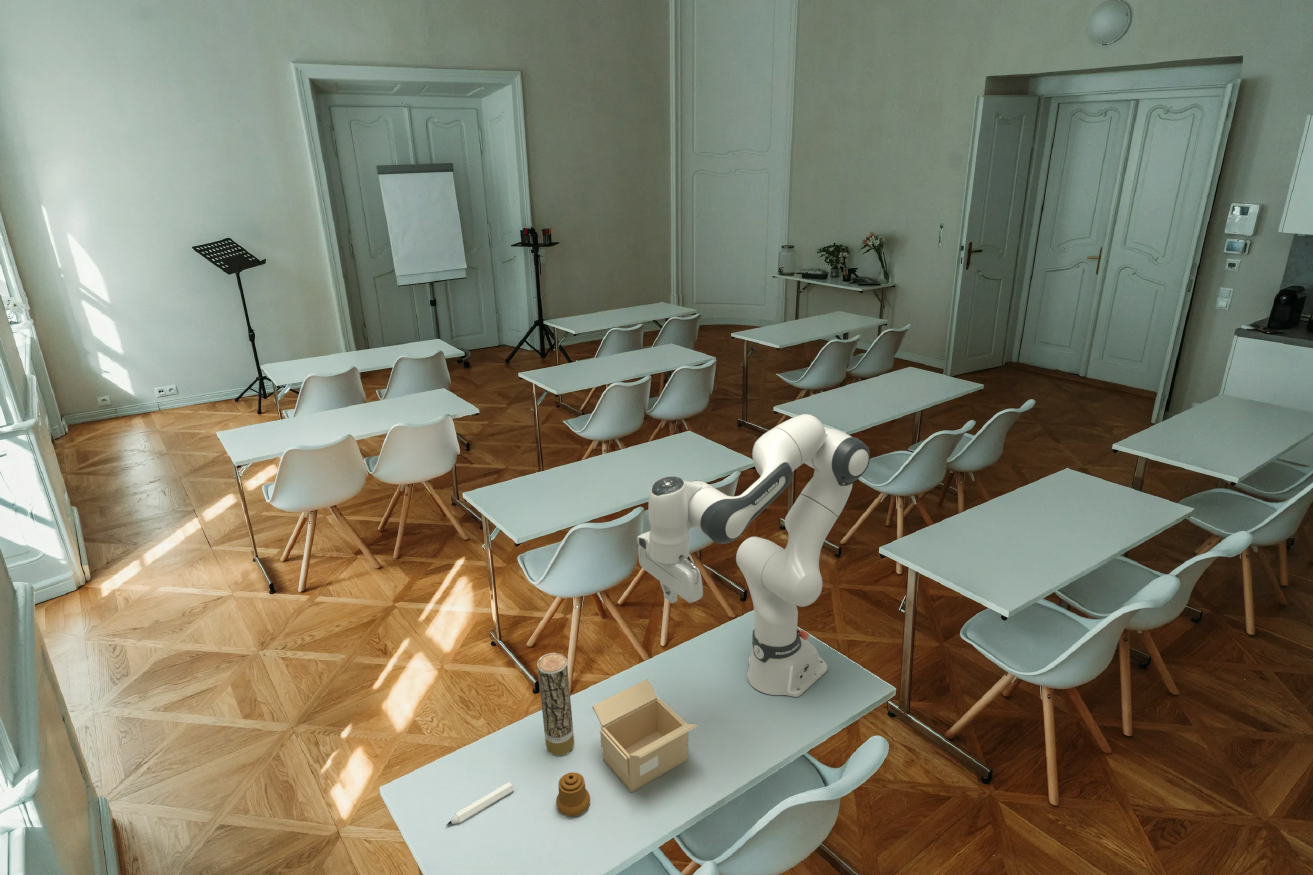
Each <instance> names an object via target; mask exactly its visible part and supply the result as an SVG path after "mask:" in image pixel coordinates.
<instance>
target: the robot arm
mask: <svg viewBox="0 0 1313 875" xmlns="http://www.w3.org/2000/svg"><path fill="white" fill-rule="evenodd" d="M751 455H752V461H753V464H754V467H755V469H756V472H757V474H759V476H760V477H759V478H757V480H756V481H754V482H753V483H752V484H751V485H750V486H749V487H748V488H747V489H746V490H745V491H743V492H742V493H741V494H739V495H736V496H730V495H727V494H726V493H724V492H723V491H720V490H718V489H717V488H715V487H714V486H712V485H710V484H708V483H707V482H705V481H702V480H698V479H697V480H692V481H687V480H684V479H682V478H680V477H679V476H678V477H677V476H665V477H662V478H660V479H658V480H656V481H655V482H654V483H653V484H652V486H651V488H650V491H649V496H648V504H647V505H648V510H647V511H648V522H649V524H650V530H649V531H646V532H644V533H641V534H639V535H638V536H637V538H636V542H637V545H638V546H637V551H638V552H637V553H638V555H637V556H638V563H639V565H640V568H642V569H643V570H644V571H646V572H647V573H649V574H650V575H651V576H652V577H654V578H655V579H656V580H658V581H659V584H660V587H661V589H662V592H663V598H664V599H666V600H667V601H668V602H669V603H671V604H674V603H676V602H678V596H679V597H680V598H682V599H683V600H685V601H686V602H687V603H688V604H692V603H694V602H697V601H699V600H700V599H702V597H703V595H704V589H703V588H704V587H703V579H702V575H701V572H700V569H699V568H698V567H697V566H696V564H695V562H693V561H690V560H689V559H688V558H689V556H690V533H689V532H690V529H691V528H697V529H698V530H699V531H701V532H703V534H705V535H706V536H707V537H708V538H709V539H710V540H712V542H714V543H716V544H718V545H725V544H729V543H732V542H733V541H735V540H737V539H739V538H740V537H741V536H742V535H743V534H744V532H745V531H746V530H747V528H748V527H749V526H750V524H751V523H752V522H753V521H754V520H755V519H756V518H757V517H758V516H759V515H760V514H761V513H762V512H763V511H764V510H765V509H767V508H768V507H769V506H770V504H772V503H773V502H774V501H775V500H776V499H777V498H778V497H779V496H780V495H781V494H782V493H783V492H784V491H785V490H786V488H788V486H789V485H790V483H791V482H792V480H793V475H794V474H793V472H794V471H795V470H797V469H798V468H799V467H801V466H802V465H803V464H805V465H807V466H808V467H810V468H812V469H813V472H814V473H813V476H812V477H811V479H809V481H808V482H807V484H805V487H804V488H803V489H802V491H801V492H800V494H799V496H798V497H797V499H796V500H795V501H794V503H793V505H792V507H791V508H790V509H789V511H788V513H787V514H786V515H785V519H784V526H785V529H786V532H787V533H788V539H787V540H788V541H787V544H786V546H785V548H783V546H780V545H778V544H776V543H775V542H773V541H772V540H769V539H766V538H763V537H759V536H750V537H748V538H746V539H745V540H744V541H743V542H742V543H741V544H740V545H739V547H738V549H737V551H736V557H735V561H736V565H737V566H738V568H739V569H740V571H741V573H742V574H743V576H744V579H745V581H746V584H747V586H748V587H747V588H748V589H749V590H748V591H749V593H750V596H751V597H750V598H751V600H752V605H753V614H754V615H753V616H754V617H753V618H754V620H753V622H754V628H753V630H752V636H751V639H752V640H751V644H752V647H751V651H750V656H749V657H748V669H747V673H746V678H747V681H748V683H749V684H750V685H751V686H752V687H753V688H754V689H756V691H758V692H760V693H763V694H766V695H772V696H789V697H791V698H792V697H794V698H799V697H801V695H803V694H804V692H806V691H807V690H808V689H809V688H811V687H812V685H814V683H815V682H817V681H818V680H819V679H820V678H821V677H822V676H823V675H824V674H826V673H827V671H828V665H827V663H826V661H825V660H824V659H823V658H822V657H821V656H820V655H819V652H818V649H817V648H816V647H815V645H813V643H811V642H810V641H809V640H808V638H809V637H810V636H809V635H810V634H809V633H808V632H807V631H805V630H804V629H802V630H800V629H799V628H798V617H799V611H798V607H799V608H804V607H808V606H810V605H812V604H813V603H815V601H817V600H818V598H819V597H820V595H821V593H822V590H823V578H822V574H821V572H820V556H821V551H822V548H823V545H824V542H825V540H826V538H827V537H828V535H829V533H830V531H831V530H832V528H833V527H834V524H835V522H836V521H837V519H838V518H839V516H840V515H841V513H842V511H843V509H844V508H845V506H846V504H847V501H848V499H849V497H850V494H851V491H852V490H853V483H855V481H857V480H858V479H860V478H861V477H862V476H863V475H864V474H865V472H866V471H867V469H868V467H869V465H870V461H871V460H870V459H871V455H870V449H869V446H867V444H866V443H864V442H863V441H862V440H860V439H859V438H857V437H854V436H851V435H850V434H848V433H846V432H844V431H842V430H838V429H835V428H831V427H827V426H824V424H823V423H822V422H821V421H820V420H819V419H818V418H817V417H816V416H814V415H812V414H809V413H803V414H802V413H801V414H799V415H796V416H794V417H792V418H790V419H786V420H785V421H783V422H781V423H780V424H778V425H776V426H774V427H772V428H771V429H769V430H768V431H765V433H763V434H762V435H761V436H760V437H759V438H758V439H756V441H755V442H754V444H753V448H752V454H751ZM797 606H798V607H797Z"/></svg>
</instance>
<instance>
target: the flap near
mask: <svg viewBox="0 0 1313 875" xmlns="http://www.w3.org/2000/svg"><path fill="white" fill-rule="evenodd" d="M697 727H698V725H697V724H696V723H687V724H685V725H683V726H681V727H679V728H677V729H676V730H674V731H672V732H670V733H668V734H666V735H665V736H663V737H661V738H659V739H657V740H656V741H654V742H652V743H650V744H648V745H646V746H645V747H643V748H641V749H639V750H637V751H636V752H634V753H632V754H630V755H629V756H630V757H632V758H641V757H643V756H645V755H647V754H649V753H650V752H652V751H654V750H656V749H658V748H659V747H661V746H663V745H665V744H667V743H668V742H670V741H672V740H674V739H675V738H677V737H679V736H681V735H683V734H684V733H686V732H688V733H689V731H691V730H693V729H695V728H697Z"/></svg>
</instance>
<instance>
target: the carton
mask: <svg viewBox="0 0 1313 875" xmlns="http://www.w3.org/2000/svg"><path fill="white" fill-rule="evenodd" d="M685 724H688V723H687V722H686V721H684V719H683V718H681V716H679V715H678V714H677V713H676V711H674V710H673V708H671V707H670V706H669V705H668V704H667V703H666V702H664V701H663V699H661V698H660V699H659V698H658V697H657V698H656V699H654V700H652V701H650V702H648V703H646V704H644V705H642V706H641V707H639V708H637V709H635V710H633V711H631V712H629V713H627V714H625V715H623V716H621V717H619V718H617V719H615V720H613V721H611V722H610V723H608V724H606V725H604V726H602V725H601V726H600V730H599V733H600V734H599V735H600V747H601V748H602V760H603V762H604V763H605V764H606V765H607V766H608V767H609V768H610V770H611V771H612V773H614V775H615V776H616V777H617V778H618V779H619V780H620V781H621V783H622V784H623V785H624V786H625V787H626V788H627V789H628V790H629V792H630V793H633V792H635V791H638V790H639V789H641V788H642V787H644V786H646V785H648V784H650V783H652V782H653V781H655V780H656V779H657V778H659V777H661V776H663V775H665V774H667V773H668V772H670V771H672V770H674V769H675V768H677V767H679V766H680V765H682V764H683V763H686V762H687V761H688V760H689V749H688V748H689V744H688V742H689V731H688V732H686V733H684V734H683V735H681V736H679V737H677V738H675V739H674V740H672V741H670V742H668V743H667V744H665V745H663V746H661V747H659V748H658V749H656V750H654V751H652V752H650V753H649V754H647V755H645V756H643V757H641V758H632V757H630V756H629V755H630V754H632V753H634V752H636V751H637V750H639V749H641V748H643V747H645V746H646V745H648V744H650V743H652V742H654V741H656V740H657V739H659V738H661V737H663V736H665V735H666V734H668V733H670V732H672V731H674V730H676V729H677V728H679V727H681V726H683V725H685Z"/></svg>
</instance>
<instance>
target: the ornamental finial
mask: <svg viewBox="0 0 1313 875" xmlns="http://www.w3.org/2000/svg"><path fill="white" fill-rule="evenodd" d="M590 803H591V795H590V793H589V791H588V790H587V788H586V783H585V778H584V776H583V775H582V774H580V773H579V772H573V771H571V772H568V773H565V774H564V775H563V774H562V776H561V777H560V778H559V780H558V794H557V795H556V800H555V804H556V808H557V810H558V812H560V813H561V814H562V815H564V816H566V817H577V816H580V815H582V814H584V813H585V812H586V811H587V810H588V808H589V806H590Z"/></svg>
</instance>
